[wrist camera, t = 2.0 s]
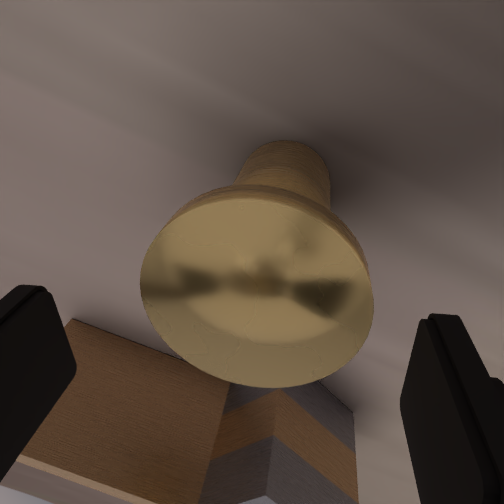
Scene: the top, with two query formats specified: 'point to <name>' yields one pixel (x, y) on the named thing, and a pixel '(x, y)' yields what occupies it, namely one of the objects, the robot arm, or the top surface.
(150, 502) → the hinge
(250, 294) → the gold rounded cylinder
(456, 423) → the robot arm
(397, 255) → the top surface
